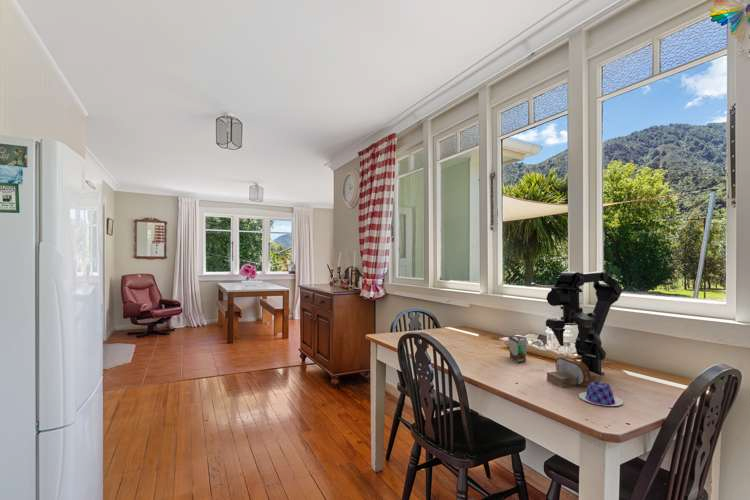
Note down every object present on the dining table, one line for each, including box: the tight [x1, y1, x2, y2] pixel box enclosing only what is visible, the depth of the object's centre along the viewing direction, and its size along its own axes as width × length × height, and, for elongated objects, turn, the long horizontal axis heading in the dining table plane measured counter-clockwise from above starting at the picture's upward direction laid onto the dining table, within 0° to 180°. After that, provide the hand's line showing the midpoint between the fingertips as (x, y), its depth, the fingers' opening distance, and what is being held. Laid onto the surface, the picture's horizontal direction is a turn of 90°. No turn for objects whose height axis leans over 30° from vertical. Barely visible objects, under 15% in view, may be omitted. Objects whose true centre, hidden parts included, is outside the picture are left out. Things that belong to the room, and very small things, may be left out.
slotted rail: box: [546, 371, 602, 388], centre depth 134 cm, size 16×8×3 cm, turn 102°
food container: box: [508, 334, 529, 364], centre depth 164 cm, size 12×6×10 cm, turn 179°
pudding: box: [578, 381, 624, 407], centre depth 117 cm, size 12×12×5 cm
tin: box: [555, 355, 591, 387], centre depth 134 cm, size 15×3×8 cm, turn 12°
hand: (572, 345), depth 140 cm, fingers open, 9 cm apart
